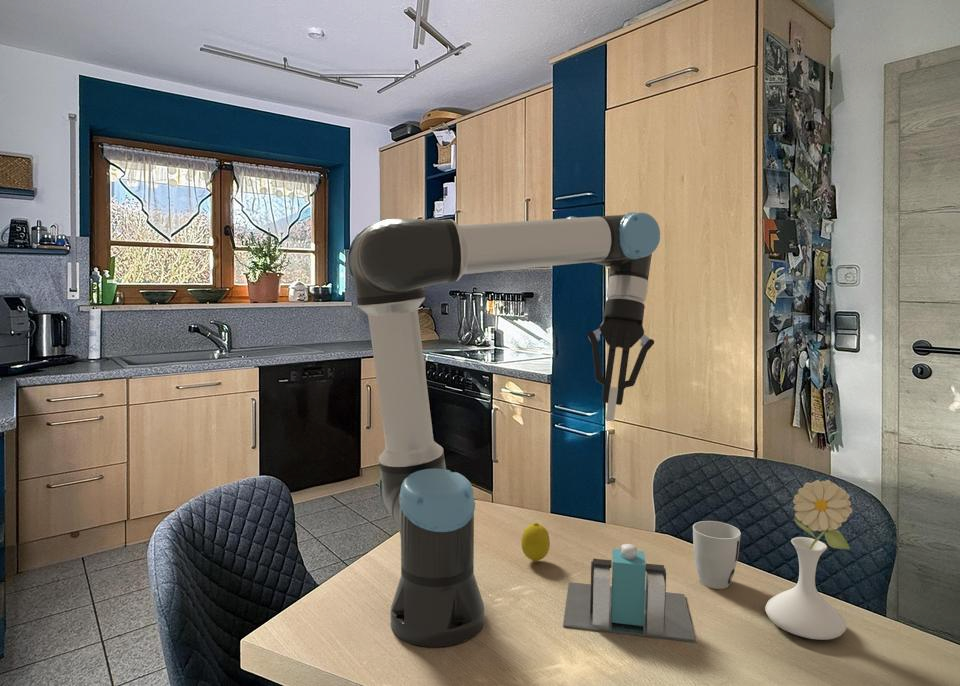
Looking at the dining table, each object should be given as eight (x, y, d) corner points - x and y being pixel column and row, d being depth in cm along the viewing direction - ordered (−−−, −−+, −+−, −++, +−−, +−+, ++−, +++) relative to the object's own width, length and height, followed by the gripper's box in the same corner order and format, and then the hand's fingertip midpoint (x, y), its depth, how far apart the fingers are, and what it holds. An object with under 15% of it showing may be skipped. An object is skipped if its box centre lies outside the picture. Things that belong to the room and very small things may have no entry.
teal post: (611, 622, 97) (613, 552, 95) (611, 606, 101) (612, 539, 100) (643, 626, 96) (646, 555, 94) (642, 609, 100) (644, 542, 99)
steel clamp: (563, 626, 97) (564, 573, 96) (568, 584, 110) (569, 536, 110) (695, 642, 93) (697, 586, 92) (684, 596, 106) (686, 547, 105)
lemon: (541, 571, 115) (542, 530, 115) (516, 564, 118) (516, 524, 118) (554, 559, 120) (554, 520, 119) (529, 553, 123) (529, 515, 122)
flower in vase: (749, 612, 101) (756, 466, 99) (806, 603, 104) (815, 461, 101) (809, 659, 89) (819, 493, 86) (872, 648, 91) (884, 486, 89)
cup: (742, 595, 107) (745, 540, 106) (694, 590, 108) (696, 536, 107) (733, 573, 115) (735, 522, 114) (687, 569, 116) (690, 519, 115)
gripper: (657, 308, 121) (642, 425, 120) (592, 300, 124) (576, 415, 122) (662, 301, 114) (645, 427, 112) (592, 293, 117) (575, 415, 115)
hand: (609, 420), depth 117 cm, fingers closed
